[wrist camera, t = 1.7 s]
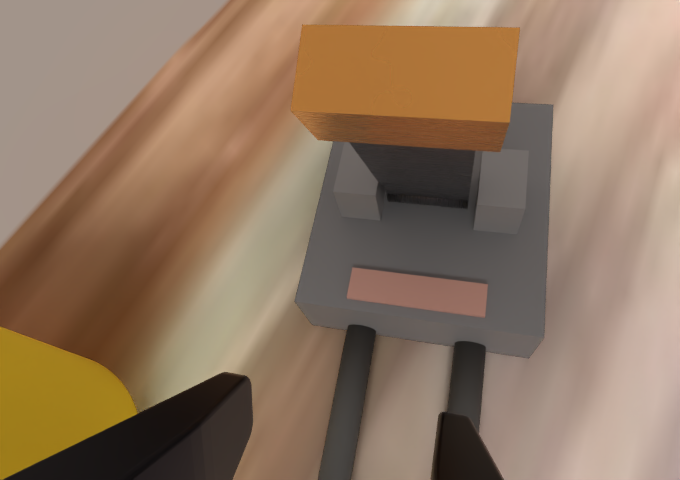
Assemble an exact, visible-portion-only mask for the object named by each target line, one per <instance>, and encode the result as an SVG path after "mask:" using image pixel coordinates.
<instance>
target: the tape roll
mask: <svg viewBox="0 0 680 480" xmlns="http://www.w3.org/2000/svg"><path fill="white" fill-rule="evenodd" d="M136 414H138V413H137V410H136V407H135V405H134V402H133V400H132V398H131V396H130V394H129V392H128V391H127V389H126V388H125V386H124V385H123V384H122V382H121V381H120V380H119V379H118V378H117V377H116V376H115V375H114V374H113V373H112V372H111V371H110V370H108V369H107V368H105V367H104V366H102V365H101V364H99V363H97V362H95V361H92V360H90V359H87V358H84V357H82V356H79V355H76V354H74V353H71V352H68V351H65V350H63V349H60V348H57V347H55V346H52V345H49V344H46V343H44V342H41V341H38V340H35V339H33V338H30V337H27V336H25V335H22V334H19V333H16V332H14V331H11V330H8V329H6V328H3V327H0V480H3V479H5V478H7V477H9V476H11V475H13V474H15V473H17V472H19V471H21V470H23V469H25V468H27V467H29V466H31V465H33V464H35V463H37V462H40V461H42V460H44V459H46V458H48V457H50V456H52V455H54V454H56V453H58V452H60V451H62V450H64V449H66V448H68V447H70V446H72V445H74V444H77V443H79V442H81V441H83V440H85V439H87V438H89V437H91V436H93V435H95V434H97V433H99V432H101V431H103V430H105V429H107V428H109V427H111V426H114V425H116V424H118V423H120V422H122V421H124V420H126V419H128V418H130V417H132V416H134V415H136Z"/></svg>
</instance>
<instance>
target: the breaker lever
mask: <svg viewBox="0 0 680 480" xmlns="http://www.w3.org/2000/svg"><path fill="white" fill-rule="evenodd" d="M519 32H520V28H508V27H434V26H361V25H302V31H301V38H300V46H299V53H298V60H297V68H296V75H295V82H294V90H293V97H292V104H291V112H292V113H293V114H294V115H295V116H296V117H297V118H298V119H299V120H300V121H301V122H302V123H303V124H304V126H305V127H306V128H307V129H308V130H309V131H310V132H311V133H312V134H313V135H314V136H315V137H316V138H317V140H324V141H339V142H349V143H350V144H351V146H352V147H353V148H354V150H355V151H356V152H357V154H358V155H359V156H360V158H361V159H362V161H363V162H364V163H365V165H366V166H367V167H368V169H369V170H370V171H371V173H372V174H373V176H374V177H375V178H376V180H377V181H378V182H379V184H380V185H381V186H382V188H383V189H384V191H385V192H386V193H387V200H388V202H397V203H408V204H419V205H430V206H440V207H451V208H462V209H468V201H469V194H470V187H471V179H472V172H473V165H474V157H475V151H487V152H500V151H501V148H502V145H503V142H504V139H505V136H506V132H507V129H508V126H509V123H510V115H511V106H512V97H513V87H514V78H515V69H516V59H517V50H518V41H519Z"/></svg>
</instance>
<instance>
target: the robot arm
mask: <svg viewBox="0 0 680 480" xmlns="http://www.w3.org/2000/svg"><path fill="white" fill-rule="evenodd" d="M252 426H253V410H252V389H251V382H250V379H249V378H248V377H247V376H245V375H239V374H234V373H228V372H223V373H221V374H218V375H216V376H214V377H212V378H210V379H208V380H206V381H204V382H202V383H200V384H198V385H196V386H194V387H192V388H189V389H187V390H185V391H183V392H181V393H179V394H177V395H175V396H173V397H171V398H169V399H167V400H165V401H163V402H161V403H159V404H157V405H155V406H153V407H150V408H148V409H146V410H144V411H142V412H140V413H138V414H136V415H134V416H132V417H130V418H128V419H126V420H124V421H122V422H120V423H118V424H116V425H114V426H111V427H109V428H107V429H105V430H103V431H101V432H99V433H97V434H95V435H93V436H91V437H89V438H87V439H85V440H83V441H81V442H79V443H77V444H74V445H72V446H70V447H68V448H66V449H64V450H62V451H60V452H58V453H56V454H54V455H52V456H50V457H48V458H46V459H44V460H42V461H40V462H37V463H35V464H33V465H31V466H29V467H27V468H25V469H23V470H21V471H19V472H17V473H15V474H13V475H11V476H9V477H7V478H5V479H3V480H232V479H233V477H234V474H235V472H236V469H237V467H238V464H239V462H240V460H241V457H242V455H243V452H244V450H245V447H246V445H247V442H248V440H249V437H250V435H251V431H252ZM431 480H504V479H503V477H502V475H501V473H500V472H499V470H498V468H497V466H496V464H495V462H494V461H493V459H492V457H491V455H490V453H489V451H488V450H487V448H486V446H485V444H484V442H483V441H482V439H481V437H480V435H479V433H478V431H477V430H476V428H475V426H474V424H473V422H472V421H471V419H470V418H469V417H468V416H465V415H459V414H454V413H448V412H441V413H440V414H439V416H438V424H437V432H436V440H435V448H434V456H433V464H432V473H431Z"/></svg>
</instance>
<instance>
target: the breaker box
mask: <svg viewBox="0 0 680 480" xmlns="http://www.w3.org/2000/svg"><path fill="white" fill-rule="evenodd" d="M552 124H553V105H549V104H527V103H512V106H511V115H510V123H509V126H508V129H507V132H506V136H505V139H504V142H503V145H502V148H501V151H500V152H487V151H475V157H474V165H473V172H472V179H471V187H470V194H469V201H468V209H462V208H451V207H440V206H430V205H419V204H408V203H397V202H388V200H387V193H386V192H385V191H384V189H383V188H382V186H381V185H380V184H379V182H378V181H377V180H376V178H375V177H374V176H373V174H372V173H371V171H370V170H369V169H368V167H367V166H366V165H365V163H364V162H363V161H362V159H361V158H360V156H359V155H358V154H357V152H356V151H355V150H354V148H353V147H352V146H351V144H350V143H349V142H339V141H333V145H332V149H331V153H330V157H329V161H328V166H327V170H326V174H325V178H324V182H323V186H322V190H321V194H320V199H319V203H318V207H317V211H316V215H315V219H314V223H313V227H312V232H311V236H310V240H309V244H308V248H307V252H306V256H305V260H304V265H303V269H302V273H301V277H300V281H299V285H298V289H297V293H296V298H295V303H296V304H297V306H298V307H299V308H300V309H301V311H302V312H303V313H304V315H305V316H306V317H307V319H308V320H309V321H310V323H311V324H312V325H316V326H323V327H329V328H336V329H342V330H347V328H348V325H353V324H355V325H363V326H367V327H370V328H373V329H374V330H376V335H381V336H388V337H394V338H401V339H407V340H414V341H420V342H427V343H433V344H440V345H446V346H453V347H455V342H458V341H470V342H475V343H479V344H482V345H484V346H485V347H486V352H492V353H498V354H505V355H511V356H518V357H524V358H529V357H530V356H531V355H532V353H533V352H534V350H535V349H536V348H537V346H538V345H539V344H540V342H541V341H542V340H543V338H544V327H545V302H546V277H547V251H548V226H549V200H550V175H551V150H552Z"/></svg>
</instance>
